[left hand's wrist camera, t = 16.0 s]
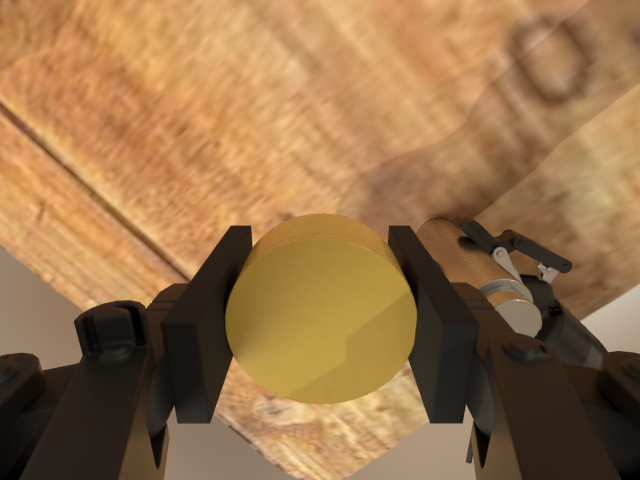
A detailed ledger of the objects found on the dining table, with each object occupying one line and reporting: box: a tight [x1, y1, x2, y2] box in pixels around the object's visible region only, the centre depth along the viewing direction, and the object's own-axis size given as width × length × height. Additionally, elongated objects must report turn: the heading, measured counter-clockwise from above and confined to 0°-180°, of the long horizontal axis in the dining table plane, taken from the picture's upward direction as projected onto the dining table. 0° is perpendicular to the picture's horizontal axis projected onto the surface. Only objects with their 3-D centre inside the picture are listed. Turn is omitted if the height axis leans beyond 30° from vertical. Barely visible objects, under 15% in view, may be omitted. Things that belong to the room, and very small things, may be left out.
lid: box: [225, 214, 417, 404], centre depth 11 cm, size 5×5×2 cm
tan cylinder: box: [416, 219, 542, 338], centre depth 32 cm, size 5×5×17 cm
